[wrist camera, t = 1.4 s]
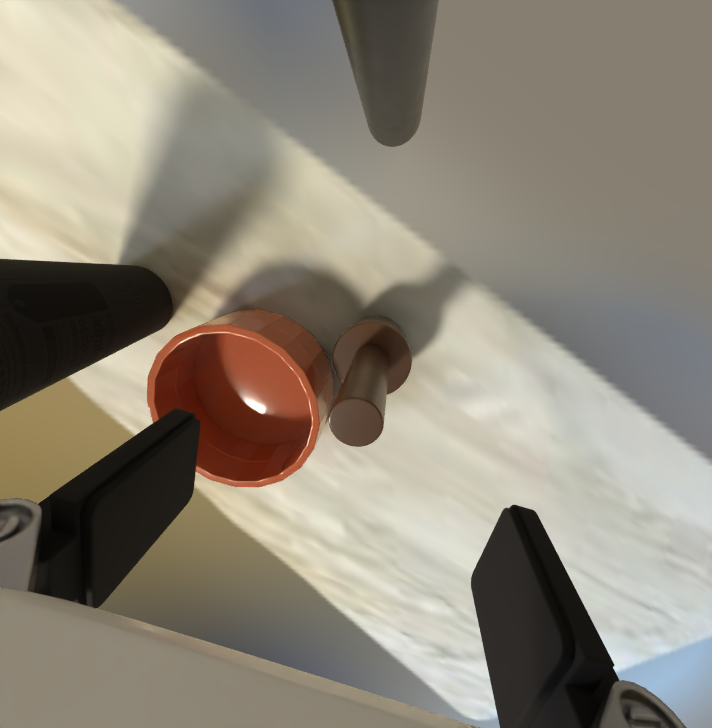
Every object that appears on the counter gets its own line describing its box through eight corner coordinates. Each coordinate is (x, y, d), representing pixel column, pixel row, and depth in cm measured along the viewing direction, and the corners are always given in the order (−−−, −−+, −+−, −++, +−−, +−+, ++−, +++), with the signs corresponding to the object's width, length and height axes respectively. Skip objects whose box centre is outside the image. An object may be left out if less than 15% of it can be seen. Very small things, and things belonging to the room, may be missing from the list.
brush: (349, 304, 23) (309, 351, 13) (419, 322, 23) (433, 385, 13) (334, 369, 25) (287, 456, 15) (399, 386, 25) (397, 487, 15)
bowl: (198, 291, 25) (149, 303, 20) (349, 332, 24) (336, 353, 19) (187, 425, 28) (144, 461, 24) (317, 462, 28) (300, 506, 23)
